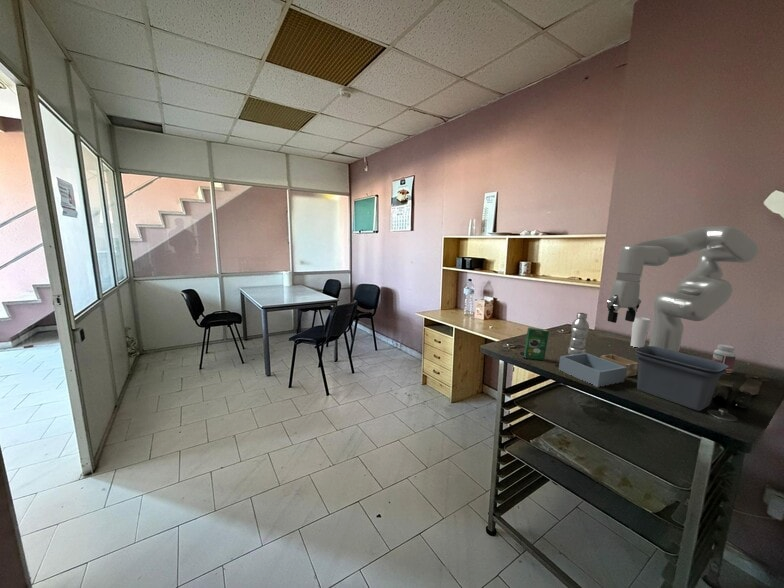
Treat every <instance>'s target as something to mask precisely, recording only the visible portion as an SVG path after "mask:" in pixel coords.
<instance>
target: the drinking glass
mask: <svg viewBox="0 0 784 588" xmlns="http://www.w3.org/2000/svg"><path fill="white" fill-rule="evenodd" d="M651 321H652V320H651V319H650V318H647V317H642V316H635V320H634V322H631V323H632V325H631V335H630V337H631V338H630V347H631V346H633V347H632V348H634V347H638V348H639V347H643V346H645V343H646V341H647V337H648V333H649V330H650V327H651Z"/></svg>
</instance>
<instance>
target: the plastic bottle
mask: <svg viewBox="0 0 784 588" xmlns="http://www.w3.org/2000/svg"><path fill="white" fill-rule="evenodd" d="M587 319H588V313H585V312H577V314H576V318H575V319H574V320H573V321H572V323H571V337H570V343H569V346H568V348H567V349H568V350H567V355H574V354H581V353H586V341H587V340H586V339H587V336H588V332H589V329H590V324H589V322H588V321H587Z"/></svg>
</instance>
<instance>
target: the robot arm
mask: <svg viewBox="0 0 784 588" xmlns="http://www.w3.org/2000/svg"><path fill="white" fill-rule="evenodd" d="M695 252H698V259H697V266H696V268H695V269H694V270H693V271H691V272H690V273H689V274H688V275H687V276H686V277H684V278H683V279H682V280H681V281H680V282H679V283H678V284H677V285H676V287H675V291H676V292H675V291H665V292H660V293H659V294H658V295H656V296H655V298H654V301H653V313H654V314H653V323H652V328H651V332H650V338H649V342H648V343H649V344H648V346H654V347H659V348H664V349H668V350H672V351H676V352H680V348H681V344H682V338H683V335H684V324H683V321H682V319H684V320H688V321H692V322H702V321H704V320H707V319H708V318H709V317H710V316H712V315H713V314H714V313H715V312H716V311H718V310H719V309H720V308H721V307H722V306H723V305H725V304H726V303H727V302H728V301H729V300H730V298H731V296H732V294H733V285H732V283H731V282H729V281H727V280H726V279H724V278H723V275H724V274H723V270H722V268H721V266H720V264H719V262H722V263H723V262H724V263H726V262H727V263H742V264H743V263H748V262H752V261H753V260H755V259H756V257H757V256H758V255H759V246H758V244H757V243H756V241H754V240H753V239H752V238H751V237H749V236H748V235H747V234H745V233H744V232H743V231H742V230H740V229H738V228H737V227H734V226H730V225H714V226H713V225H712V226H711V225H709V226H700V227H696V228H693V229H691V230H687V231H684V232H681V233H678V234H675V235H670V236H665V237H664V236H663V237H659V238H655V239H649V240H645V241H641V242H639V243H635V244H632V245H631V244H630V245H624V246H622V247H621V249H620V255H619V261H618V267H617V271H616V272H617V273H616V278H615V280H614V282H613V285H612V288H611V291H610V295H609V299H607V300H606V304H607V306H606V307H607V312H608V314H607V321H608V322H610V323H614V324H616V323H617V322H618V316H619V312H618V311H619V310H620V309H623V308H624V309H626V308H627V310H626V313H625V318H624V321H627V322H630V323H633V322H634V320H635V317H636V314H637V312H638V309H639V307H640V305H641V303H642V300H641V299H640V293H641V290H640V289H641V280H642V276H643V275H642V274H643V270H644V266H647V267H660V266H662V265H665V264H667V262H668V261H669V260H670V258H676V257H684V256H687V255H689V254H692V253H695Z"/></svg>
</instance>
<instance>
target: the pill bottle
mask: <svg viewBox="0 0 784 588" xmlns="http://www.w3.org/2000/svg"><path fill="white" fill-rule="evenodd" d="M734 351H735V347H734V346H733V345H732V346H731V345H727V344H719V343H718V344H717V349H715V350H714V351H713V355H712V359H711V360H712V361H716V362H719V363H723V364H726V365H728V366H729V367H728V368H726V370H727V373H731V372H732V373H733V371H734V365H735V360H736V357H737V355H736V353H735V352H734Z"/></svg>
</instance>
